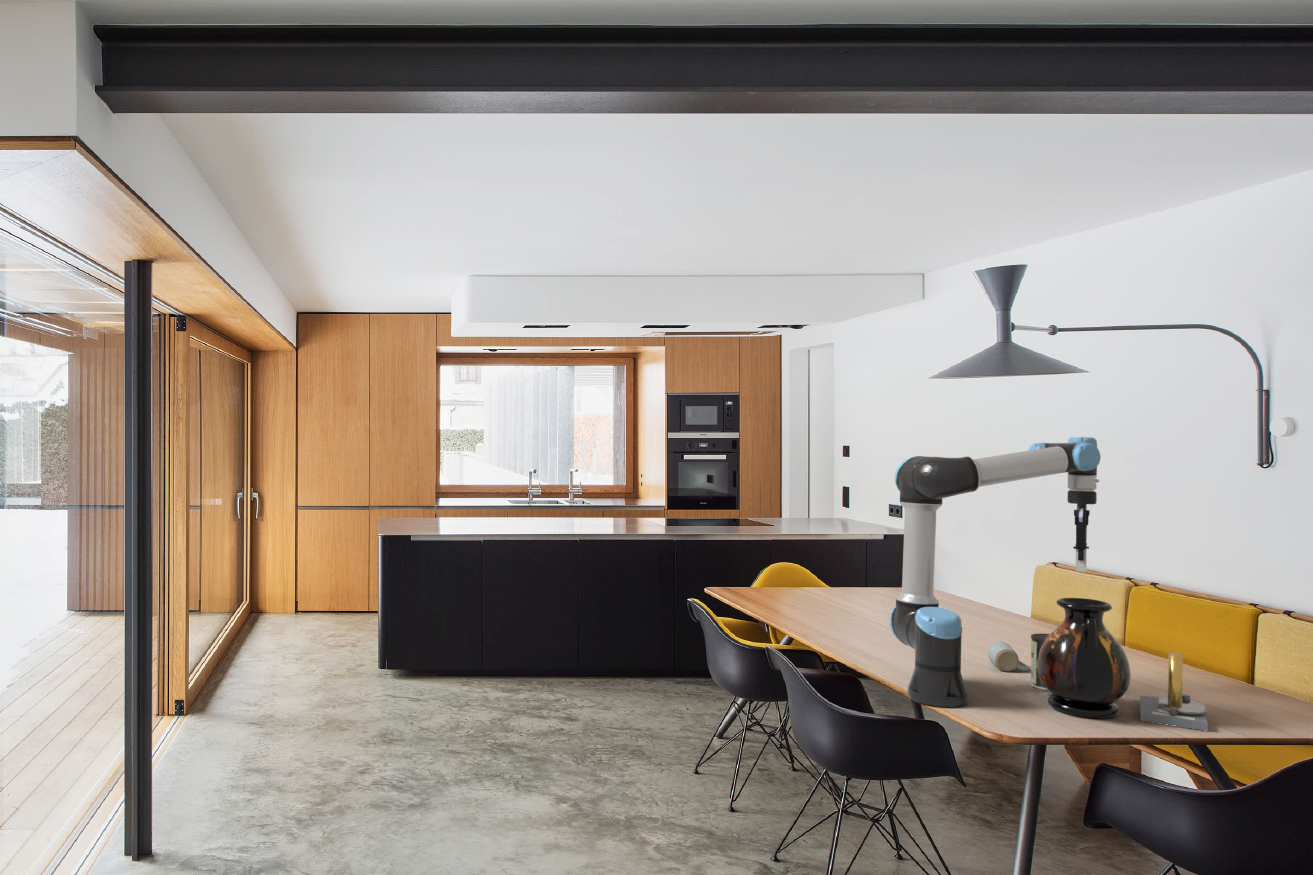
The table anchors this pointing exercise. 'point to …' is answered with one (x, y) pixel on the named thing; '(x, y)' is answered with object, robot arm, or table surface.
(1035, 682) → the coffee can
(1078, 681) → the brown glazed vase
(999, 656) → the ceramic mug
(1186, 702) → the lever
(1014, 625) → the table surface
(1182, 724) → the grey crank mechanism
